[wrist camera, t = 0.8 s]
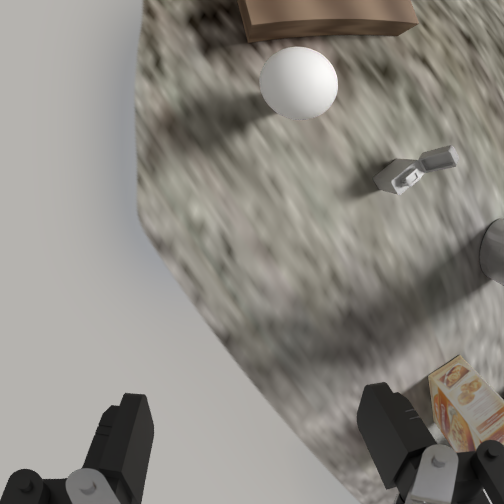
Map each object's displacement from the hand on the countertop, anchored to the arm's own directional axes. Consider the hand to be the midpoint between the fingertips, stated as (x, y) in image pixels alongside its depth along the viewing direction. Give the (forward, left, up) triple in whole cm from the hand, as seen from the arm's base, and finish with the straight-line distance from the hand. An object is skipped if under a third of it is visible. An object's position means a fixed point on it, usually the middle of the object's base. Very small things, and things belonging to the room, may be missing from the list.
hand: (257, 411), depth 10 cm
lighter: (-20, -4, -25) cm, 32 cm away
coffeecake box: (-30, +35, -25) cm, 52 cm away
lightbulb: (-8, -13, -25) cm, 29 cm away
